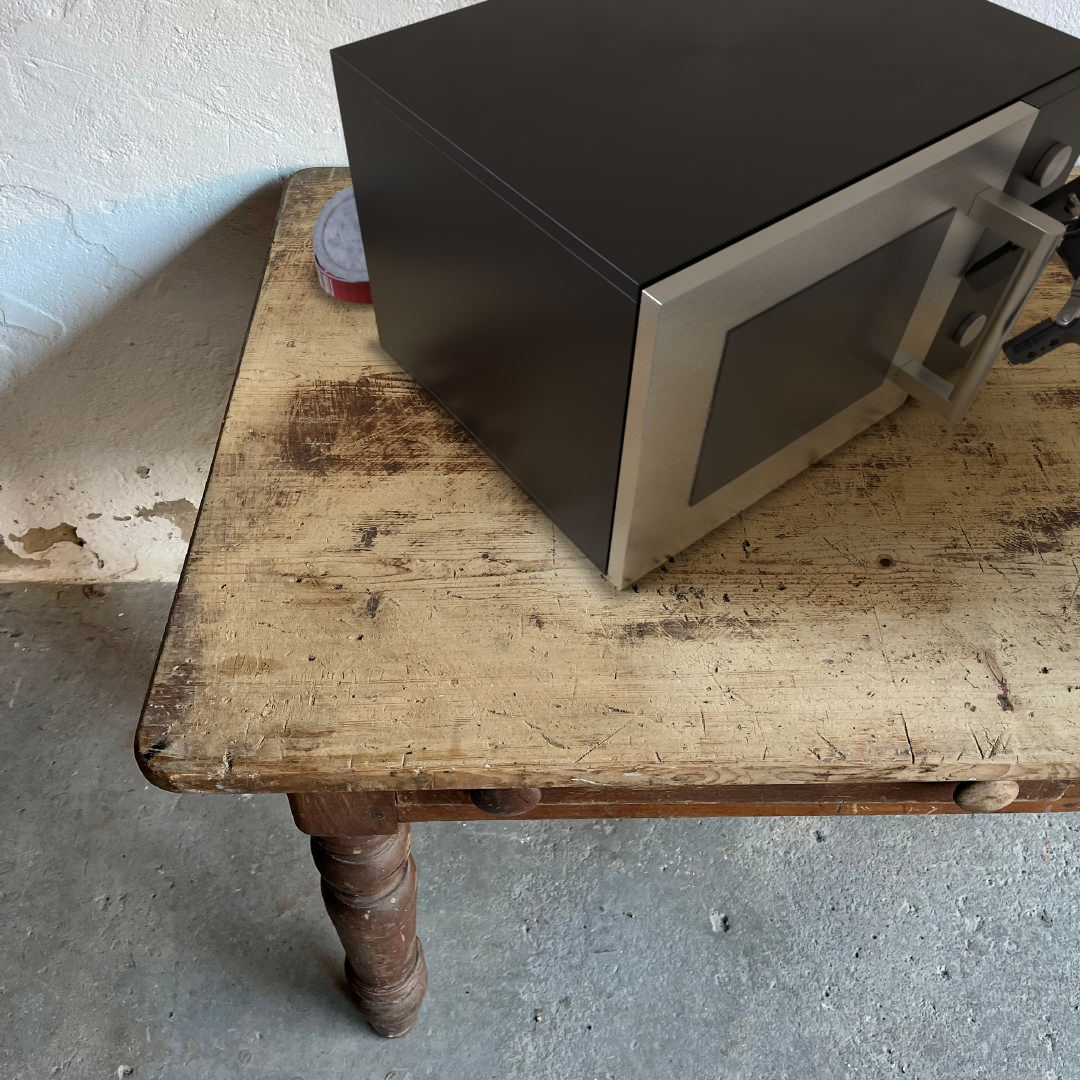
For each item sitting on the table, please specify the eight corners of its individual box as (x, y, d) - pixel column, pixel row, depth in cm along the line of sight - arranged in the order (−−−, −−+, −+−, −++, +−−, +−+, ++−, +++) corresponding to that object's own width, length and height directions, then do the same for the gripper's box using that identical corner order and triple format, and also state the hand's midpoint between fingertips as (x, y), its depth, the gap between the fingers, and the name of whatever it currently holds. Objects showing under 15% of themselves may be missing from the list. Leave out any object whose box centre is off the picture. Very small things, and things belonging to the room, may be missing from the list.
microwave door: (961, 445, 79) (1127, 150, 57) (675, 649, 67) (747, 370, 45) (889, 395, 83) (1020, 100, 61) (606, 578, 70) (641, 289, 48)
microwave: (982, 359, 87) (1140, 63, 64) (624, 598, 70) (668, 307, 47) (719, 190, 104) (771, -90, 81) (380, 348, 87) (328, 49, 64)
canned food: (419, 303, 98) (449, 248, 90) (348, 339, 93) (372, 284, 84) (356, 222, 98) (380, 159, 90) (281, 254, 93) (299, 190, 84)
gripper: (1159, 89, 62) (937, 235, 71) (1267, 206, 54) (1000, 355, 63) (1188, 160, 67) (976, 289, 75) (1292, 278, 58) (1039, 408, 67)
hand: (987, 319), depth 69 cm, fingers open, 8 cm apart
